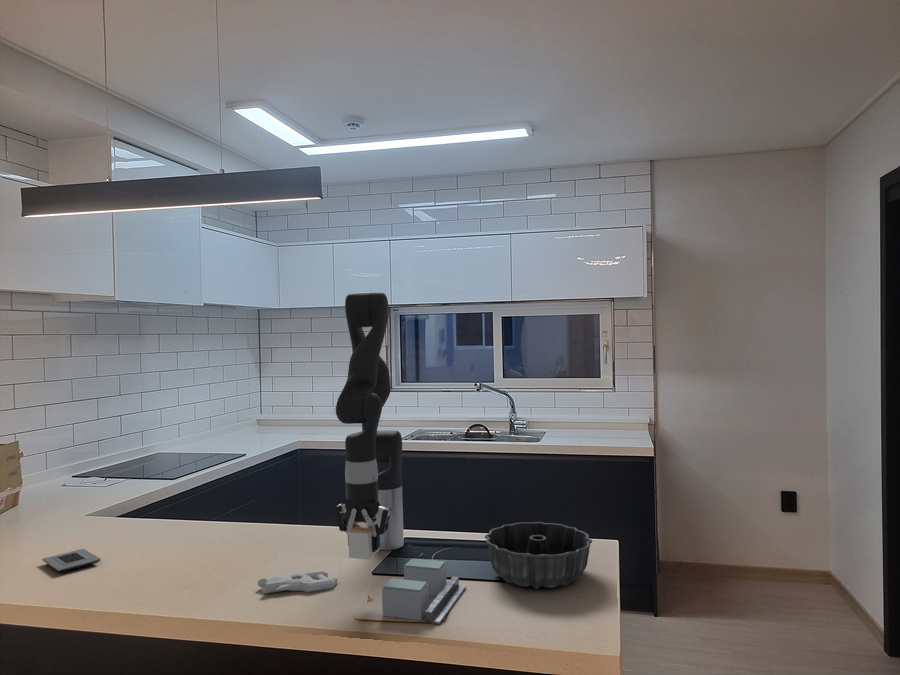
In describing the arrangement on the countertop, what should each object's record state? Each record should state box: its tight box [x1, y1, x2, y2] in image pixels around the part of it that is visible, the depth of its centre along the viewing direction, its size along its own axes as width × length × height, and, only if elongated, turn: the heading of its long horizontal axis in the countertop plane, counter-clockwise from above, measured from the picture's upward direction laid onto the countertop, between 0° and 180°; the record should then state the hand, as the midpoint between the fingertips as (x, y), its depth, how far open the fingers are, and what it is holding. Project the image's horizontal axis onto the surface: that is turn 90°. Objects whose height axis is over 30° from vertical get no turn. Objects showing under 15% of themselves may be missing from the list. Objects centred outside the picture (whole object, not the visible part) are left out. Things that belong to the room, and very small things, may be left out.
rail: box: [424, 576, 467, 625], centre depth 153 cm, size 20×3×2 cm, turn 162°
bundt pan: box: [484, 521, 593, 590], centre depth 168 cm, size 26×26×10 cm
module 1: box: [347, 521, 380, 560], centre depth 158 cm, size 6×5×6 cm
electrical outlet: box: [41, 548, 102, 573], centre depth 185 cm, size 13×10×2 cm
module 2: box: [403, 558, 448, 597], centre depth 161 cm, size 5×9×6 cm, turn 72°
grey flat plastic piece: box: [257, 570, 338, 594], centre depth 165 cm, size 18×3×10 cm
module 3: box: [381, 578, 430, 621], centre depth 149 cm, size 5×9×6 cm, turn 72°
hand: (364, 549), depth 158 cm, fingers closed on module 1, 5 cm apart
